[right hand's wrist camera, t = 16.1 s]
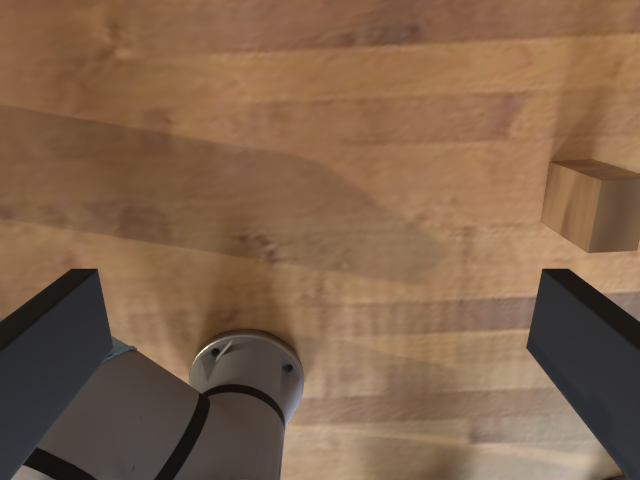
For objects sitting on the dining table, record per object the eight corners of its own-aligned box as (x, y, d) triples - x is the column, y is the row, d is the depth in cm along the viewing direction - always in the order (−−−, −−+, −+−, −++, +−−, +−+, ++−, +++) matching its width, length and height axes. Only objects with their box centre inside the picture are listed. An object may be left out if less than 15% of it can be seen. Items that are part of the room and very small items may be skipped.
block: (592, 159, 47) (654, 177, 38) (581, 220, 50) (637, 251, 41) (549, 161, 47) (601, 180, 38) (540, 222, 50) (587, 253, 41)
